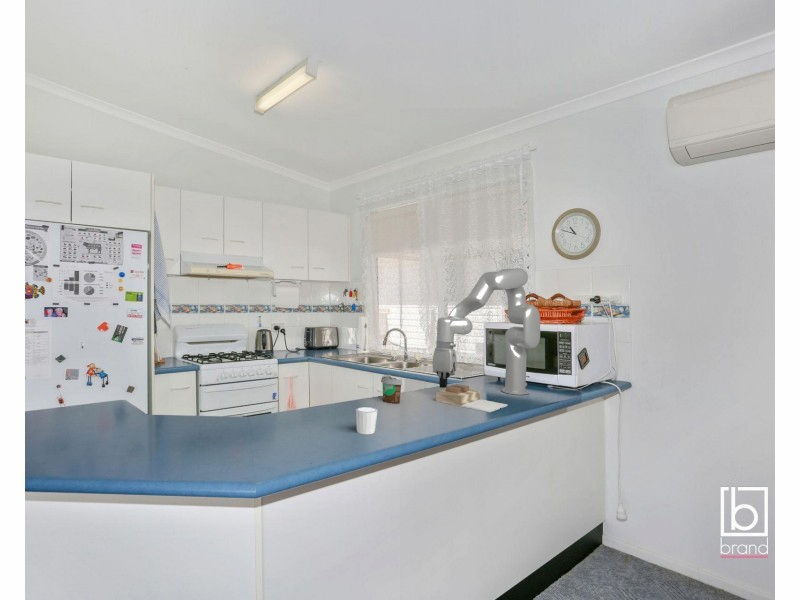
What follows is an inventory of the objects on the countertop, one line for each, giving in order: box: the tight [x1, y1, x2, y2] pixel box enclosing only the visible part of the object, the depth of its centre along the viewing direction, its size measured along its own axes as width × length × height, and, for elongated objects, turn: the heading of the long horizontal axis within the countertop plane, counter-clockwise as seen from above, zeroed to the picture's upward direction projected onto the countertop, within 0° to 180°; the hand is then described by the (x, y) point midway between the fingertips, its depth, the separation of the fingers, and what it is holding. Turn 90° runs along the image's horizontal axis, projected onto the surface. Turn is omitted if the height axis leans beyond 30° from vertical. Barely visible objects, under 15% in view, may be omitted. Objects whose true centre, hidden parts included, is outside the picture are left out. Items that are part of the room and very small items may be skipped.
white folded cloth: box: [461, 398, 508, 413], centre depth 180 cm, size 16×12×1 cm
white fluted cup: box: [355, 406, 379, 435], centre depth 139 cm, size 7×7×7 cm
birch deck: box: [435, 388, 481, 407], centre depth 188 cm, size 16×12×4 cm
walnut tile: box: [445, 384, 470, 394], centre depth 189 cm, size 9×6×2 cm, turn 141°
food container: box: [380, 374, 403, 405], centre depth 181 cm, size 12×6×10 cm, turn 25°
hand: (443, 387), depth 193 cm, fingers closed
